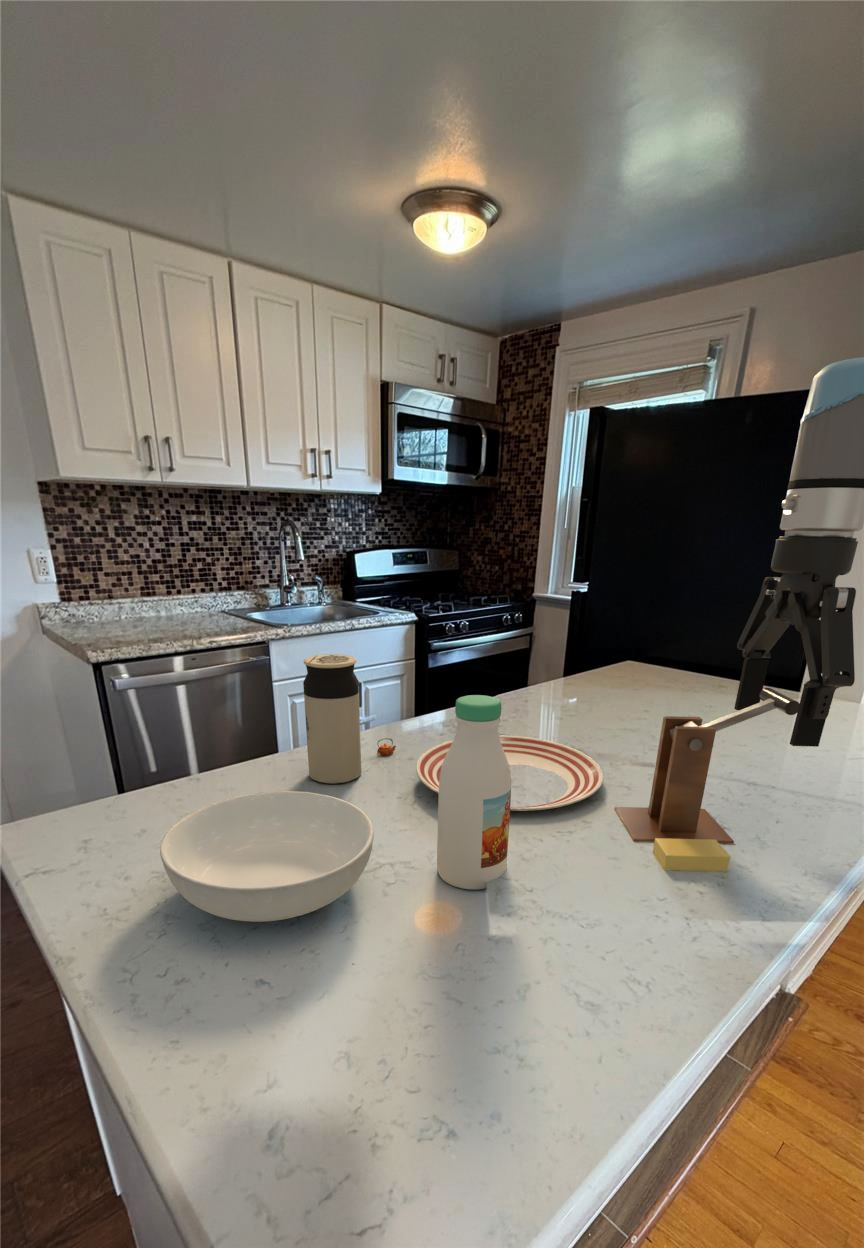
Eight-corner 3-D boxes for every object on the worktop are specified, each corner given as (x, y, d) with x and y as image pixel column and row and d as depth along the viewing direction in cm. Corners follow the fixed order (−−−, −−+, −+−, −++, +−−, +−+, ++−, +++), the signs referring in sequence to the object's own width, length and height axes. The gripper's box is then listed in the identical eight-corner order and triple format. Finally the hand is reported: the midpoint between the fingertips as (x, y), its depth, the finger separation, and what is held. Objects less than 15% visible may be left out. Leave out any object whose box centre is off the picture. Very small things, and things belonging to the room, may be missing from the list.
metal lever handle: (775, 700, 74) (771, 682, 73) (802, 714, 68) (798, 695, 68) (669, 741, 76) (663, 725, 75) (687, 758, 71) (681, 741, 70)
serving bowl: (284, 982, 51) (277, 914, 49) (124, 909, 61) (112, 848, 58) (411, 870, 68) (411, 815, 66) (271, 826, 78) (266, 776, 75)
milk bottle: (455, 898, 63) (460, 713, 56) (426, 862, 70) (428, 693, 63) (518, 882, 66) (532, 705, 59) (485, 850, 73) (493, 687, 65)
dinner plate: (592, 841, 75) (595, 817, 74) (387, 807, 83) (387, 785, 82) (607, 765, 99) (609, 746, 98) (447, 745, 108) (448, 727, 106)
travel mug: (367, 767, 97) (364, 655, 90) (352, 787, 90) (348, 666, 83) (319, 763, 98) (313, 652, 92) (301, 782, 91) (293, 663, 84)
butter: (711, 862, 71) (715, 839, 70) (725, 880, 67) (731, 856, 66) (650, 860, 71) (654, 837, 70) (662, 879, 67) (666, 855, 66)
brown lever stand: (702, 818, 82) (723, 712, 76) (731, 852, 73) (758, 735, 68) (613, 816, 82) (627, 710, 76) (632, 849, 73) (650, 733, 68)
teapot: (381, 749, 105) (380, 735, 104) (397, 752, 104) (396, 737, 103) (373, 755, 102) (373, 740, 101) (390, 757, 101) (390, 742, 100)
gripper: (730, 532, 76) (699, 697, 84) (856, 535, 53) (797, 763, 61) (790, 533, 76) (754, 698, 84) (943, 537, 53) (873, 765, 61)
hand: (772, 726), depth 72 cm, fingers open, 13 cm apart
